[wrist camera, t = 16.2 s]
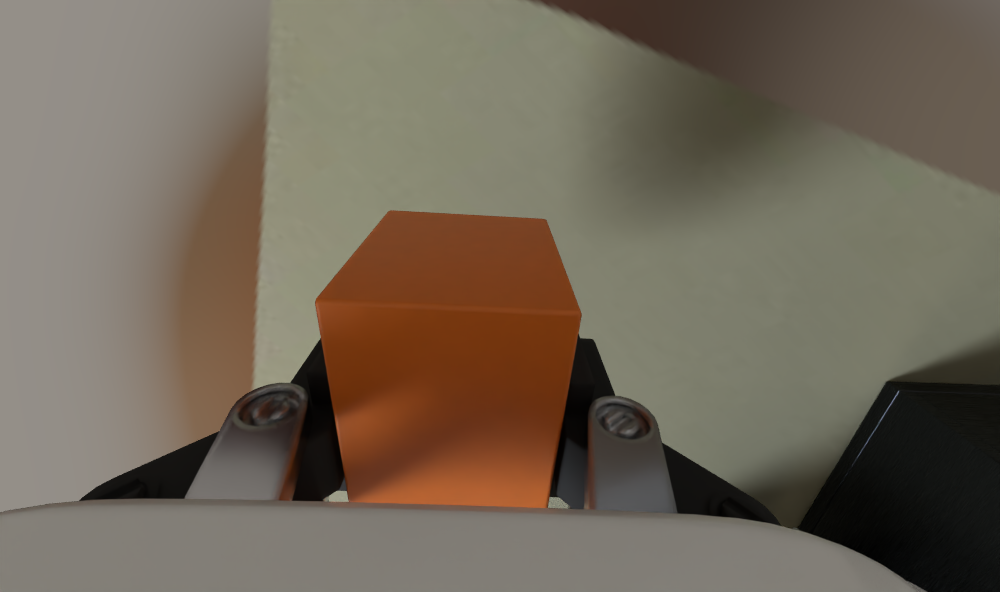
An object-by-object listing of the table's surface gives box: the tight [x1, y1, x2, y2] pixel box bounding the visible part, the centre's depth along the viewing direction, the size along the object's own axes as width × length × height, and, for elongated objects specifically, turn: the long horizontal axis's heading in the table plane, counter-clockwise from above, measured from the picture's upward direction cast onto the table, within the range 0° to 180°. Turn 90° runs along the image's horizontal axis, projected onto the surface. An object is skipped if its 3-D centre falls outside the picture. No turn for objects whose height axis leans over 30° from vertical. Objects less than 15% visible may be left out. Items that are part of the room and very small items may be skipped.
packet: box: [315, 210, 582, 508], centre depth 10 cm, size 7×4×5 cm, turn 177°
